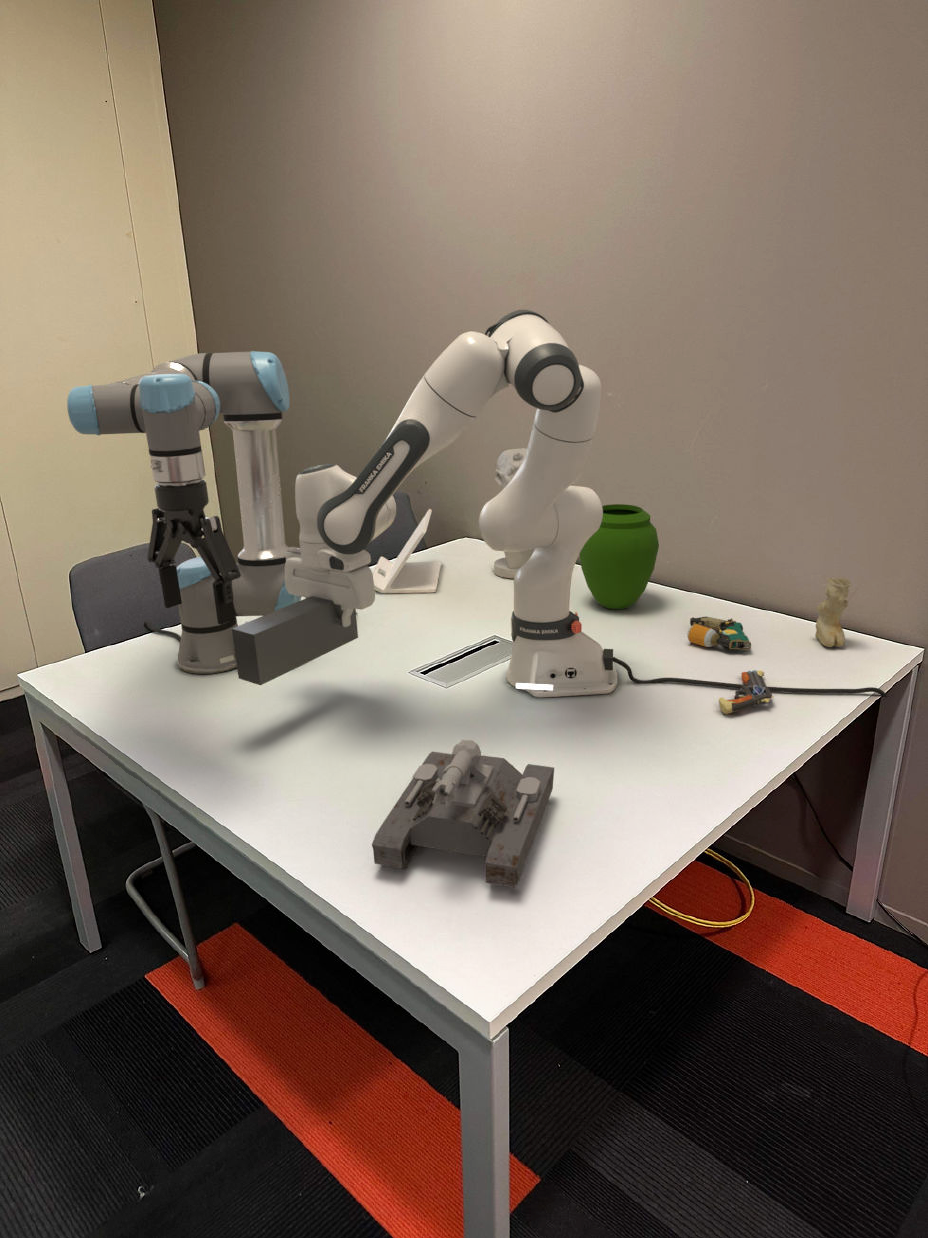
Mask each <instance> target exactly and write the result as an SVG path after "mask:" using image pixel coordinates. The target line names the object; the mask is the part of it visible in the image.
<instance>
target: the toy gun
mask: <svg viewBox="0 0 928 1238" xmlns="http://www.w3.org/2000/svg"><path fill="white" fill-rule="evenodd" d="M740 674H741V680H742V685H741V689H737V690H735V691H734V692H735V694H734V697H733V698H734V699H733V698H732V699H726V698H724V697H719V698H718V704H719V708H720V711H721V712H722V713H723V714H724V715H725V714H732V713H736V712H739V711H742V710H745V709H748V708H751V707H755V706H758V705H760V704H763V703H766V704H768V703H770V699H774V696H773V693H772V691H770V689H769V688H768V687H769V686H767V684H766V682H765V680H764V677H765V676H766V675H765V671H764V670H756V669H753V670H748V671H742V672H741V673H740ZM745 685H748V686H745Z"/></svg>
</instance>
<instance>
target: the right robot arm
mask: <svg viewBox="0 0 928 1238" xmlns="http://www.w3.org/2000/svg"><path fill="white" fill-rule="evenodd" d="M510 385H511V386H512V388H514V389H515V390H516V393H517V395H518V396H519V398H521V399H522V400H523V402H525V403H526V404H528V405H529V406H531V407H533V408H536V411H535V415H534V419H533V422H532V423H533V424H532V428H531V432H530V436H529V440H528V444H527V447H526V449H527V451H526V454H525V457H524V459H523V461H522V463H521V465H520V467H519V469H518V470H517V472H516V474H515V475H514V476H513V478H512V479H511V481H510V482H509V483H508V484H507V486H506V487H505V488H504V489H503V488H502V490H501V491H500V492H498V493H497V494H496V495H495V496H493V498H491V499H490V500H489V501H487V502H485V504H484V505H483V507H482V509H481V511H480V514H479V516H478V517H479V518H478V529H479V532H480V536H481V538H482V540H483V542H484V544H485V545H486V546H488V547H489V548H490V549H491V550H492V551H494V552H504V551H505V552H520V551H525V550H530V549H535V550H534V552H533V554H532V556H531V557H530V559H529V560H528V561H527V562H526V563H525V564H524V565H523V566H522V567H520V569H519V570H518V571H517V572H516V574H515V577H514V578H513V611H512V612H511V618H510V635H511V640H512V645H511V646H512V647H511V655H510V660H509V665H508V669H507V672H506V675H505V678H506V681H507V683H509V684H510V685H511V686H513V687H515V689H519V690H522V691H525V692H527V693H529V694H530V695H531V696H533V697H535V698H556V697H572V696H573V697H574V696H588V695H589V696H590V695H591V696H592V695H607V694H611V693H612V692H613V691H615V690H616V688H617V686H618V673H617V670H616V668H615V667H614V663H615V664H617V665H619V666H621V667H623V668H624V669H625V670H626V673H627V677H628V679H629V680H630V681H631V682H632V683H634V684H636V685H650V684H653V685H654V684H660V683H677V684H678V683H679V684H690V685H699V686H707V687H708V686H709V687H719V688H728V689H737V690H741V685H743V683H742V684H741V683H731V682H730V683H729V682H721V681H712V680H702V679H701V680H700V679H692V678H691V679H689V678H683V677H682V678H681V677H659V678H654V679H653V678H652V679H646V680H643V679H638V678H636V677H634V675H633V671H632V668H631V667H630V665H629V664H627V663H626V662H624V661H623V660H621V659H619V658H618V657H615V656H614V649H613V648H603V647H602V645H601V644H600V643H599V642H598V641H596V640H595V639H593V638H591V637H590V636H589V635H587V634H586V633H585V632H583V631H582V630H583V626H582V625H583V624H582V622H581V621H580V616H579V615H578V612H577V611H575V613H574V612H573V611H571V610H570V600H571V585H572V576H573V572H574V569H575V566H576V563H577V560H578V558H579V557H580V552H581V550H582V548H583V547H584V545H585V544H586V542H587V541H588V540H589V538H590V537H591V536H592V535H593V534H594V533H595V532H596V531H597V530H598V529H599V527H600V525H601V522H602V518H603V508H602V506H603V504H602V501H601V499H600V496H599V495H598V494H597V493H596V492H595V490H594V489H592V488H591V487H587V486H580V485H573V484H575V483H576V482H577V481H578V480H580V478H581V477H582V476H583V475H584V473H585V471H586V468H587V465H588V461H589V457H590V453H591V449H592V446H593V442H594V439H595V434H596V431H597V427H598V422H599V418H600V410H601V403H602V390H603V389H602V382H601V379H600V377H599V376H598V374H596V372H595V371H594V370H592V369H591V368H589V367H587V366H585V365H582V364H579V361H578V359H577V357H576V355H575V353H574V352H573V351H572V350H571V349H570V347H569V345H568V343H567V342H566V340H565V339H564V338H563V336H562V335H561V333H560V332H559V331H557V330H556V329H555V328H554V327H553V326H552V325H551V324H550V322H549V321H548V320H547V319H546V317H544V316H543V315H541V314H539V313H538V312H536V311H533V310H530V309H516V310H514V311H511V312H509V313H507V314H506V315H504V316H503V317H502V318H500V319H499V320H498V321H497V322H496V323H494V324H493V325H490V326H489V327H488V328H487V329H486V330H485V332H484V333H481V332H479V331H465V332H463V333H461V334H459V336H457V337H456V338H455V339H454V340H453V341H452V342H451V343H450V344H449V345H448V346H447V347H446V348H445V349H444V350H443V351H442V352H441V353H440V354H439V356H438V357H437V358H436V359H435V360H434V362H433V363H432V364H431V365H430V366H429V368H428V369H427V370H426V372H425V373H424V375H422V377H421V379H420V380H419V382H418V383H417V385H416V387H415V388H414V390H413V391H412V393H411V395H410V396H409V398H408V400H407V402H406V404H405V405H404V406H403V409H402V410H401V413H400V414H399V416H398V418H397V419H396V420H395V421H396V422H395V423H394V425H393V427H392V428H391V429H390V432H389V433H388V435H387V436H386V439H385V440H384V442H383V443H382V444H381V446H380V447H379V448H378V449H377V451H376V452H375V454H374V455H373V456H372V457H371V459H370V460H369V461H368V462H367V464H366V465H365V466H364V468H363V469H362V470H361V472H360V473H359V475H357V476H354V475H353V474H351V473H349V472H347V471H345V470H343V469H342V468H341V467H340V466H339V465H337V464H336V463H331V462H330V463H321V464H317V465H314V466H310V467H307V468H305V469H303V470H301V471H300V472H299V473H298V474H297V475H296V478H295V484H294V499H295V500H294V501H295V502H294V503H295V513H296V518H297V521H298V523H299V533H298V540H299V547H298V546H297V547H296V546H290V547H289V548H290V549H288V550H287V552H286V554H285V556H286V563H285V588H286V590H287V591H288V593H289V594H292V595H297V596H301V598H304V599H306V598H308V597H311V596H313V597H318V598H322V599H327V600H331V601H333V602H334V604H337V605H341V610H344V612H343V615H342V616H341V617H339V618H338V619H339V625H340V626H343V627H347V626H349V625H350V624H351V619H350V616H351V614H352V612H353V610H354V608H355V609H356V610H360V611H361V610H364V609H367V608H369V607H371V606H372V605H373V604H374V603H375V600H376V590H375V588H374V580H373V572H372V569H371V567H370V566H369V564H370V563H371V561H372V558H371V554H370V553H369V552H368V551H366V550H365V549H366V548H367V546H369V544H370V543H372V542H373V540H375V539H377V538H378V537H379V536H380V535H381V534H382V533H384V532H385V531H386V530H387V529H389V528H390V527H391V525H392V524H393V523H394V522H395V519H396V518H397V514H398V513H397V512H398V505H397V501H396V497H395V496H394V494H395V492H396V491H397V490H398V489H399V487H400V486H401V485H402V484H403V482H404V481H405V480H406V478H407V477H408V476H409V475H410V474H411V473H412V472H413V471H414V470H415V469H416V468H417V467H419V466H420V465H421V464H422V463H424V462H425V461H427V460H428V459H430V458H431V457H433V456H435V455H436V454H437V453H440V452H441V451H443V450H444V449H446V448H447V447H449V446H450V445H451V444H452V443H454V441H456V440H457V439H458V438H459V437H460V436H461V435H462V434H463V433H464V432H466V431H467V429H468V428H469V427H470V426H471V425H472V423H474V421H475V420H476V419H477V417H478V416H479V415H480V413H481V412H482V410H483V409H484V408H485V406H486V405H487V403H488V402H489V400H490V399H492V398H493V396H495V395H496V394H497V393H498V392H500V391H502V390H504V389H506V388H509V387H510ZM744 685H745V686H748V685H746V684H744ZM767 687H768V688H769V689H770V691H771V692H776V693H792V694H793V693H794V694H795V693H796V694H797V693H798V694H863V693H876V694H879V696H881V697H884V698H887V697H888V696H889V695H888V694H887V693H886V692H885V691H884V690H883V689H880V688H878V687H873V686H871V687H870V686H869V687H861V688H807V687H805V688H804V687H801V688H800V687H781V686H767Z"/></svg>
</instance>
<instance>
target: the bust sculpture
mask: <svg viewBox="0 0 928 1238" xmlns="http://www.w3.org/2000/svg"><path fill="white" fill-rule="evenodd" d="M526 451H527V448H525V447H522V448H512V449H506V450H504V451H502V452H501V454H500V455H499V457H498V459H497V461H496V468H495V471H494V480H495V482H496V484H497V486H498V487H501V488H502V490H503V489H504V488H505V487H506V486H507V484H508V483H509V482H510V481H511V479H512V478H513V476H514V475H515V474H516V472H517V470H518V469H519V467H520V465H521V463H522V461H523V459H524V457H525V454H526ZM534 550H535V549H530V550H525V551H520V552H505V551H503V553H504V557H502V558H498V559H496V560H495V561H494V562H493V573H494V574H495V575H496V576H497V577H500V578H506V579H514V577H515V574H516V572H517V571H518V570H519V569H520V567H522V566H523V565H524V564H525V563H526V562H527V561H528V560H529V559H530V557H531V556H532V554H533V552H534Z"/></svg>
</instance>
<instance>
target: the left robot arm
mask: <svg viewBox="0 0 928 1238" xmlns="http://www.w3.org/2000/svg"><path fill="white" fill-rule="evenodd" d="M290 401H291V400H290V390H289V384H288V380H287V377H286V373H285V369H284V367H283V364H282V362H281V360H280V358H279V357H278V356H277V355H276V354H275V353H273V352H270V351H257V350H251V351H231V352H230V351H229V352H203V353H195V354H190V355H186V356H183V357H179V358H176V359H171V360H169V361H166V362H162V363H159V364H158V365H156V366H155V367H153V369H152V370H151V371H150V372H148V373H144V374H140V375H137V376H133V377H129V378H125V379H122V380H119V381H115V382H110V383H107V384H99V385H92V384H88V385H80V386H75V387H73V388H72V389H70V390H69V393H68V395H67V399H66V407H67V408H66V409H67V415H68V419H69V421H70V425H72V428H73V429H74V430H75V431H76V432H77V433H79V434H81V435H95V436H101V435H122V434H123V435H124V434H145V436H146V442H147V447H148V448H147V449H148V454H149V459H150V468H151V472H152V479H153V481H154V482H156V484H155V485H154V494H155V501H156V506H157V508H153V509H152V510H151V519H152V525H151V530H150V536H149V545H148V551H147V552H148V553H147V561H148V562H149V563H154V566H155V567H156V569H157V570H158V575H159V581H160V584H161V590H162V597H163V603H164V608H165V609H170V608H173V607H176V606H177V607H178V615H179V620H180V626H181V635H180V634H178V633H177V632H173V631H170V630H165V629H159V628H155V627H153V626H152V625H151V623H150V621H149V620H145V621H144V623H143V626H146V628H147V629H148V630H149V631H152V632H154V633H158V634H162V635H169V636H172V637H174V638H175V639H177V640H178V641H179V647H178V652H177V664H178V668H179V669H180V670H181V671H183V672H186V673H189V674H194V675H195V674H196V675H211V674H212V675H213V674H219V673H224V672H227V671H231V670H234V669H237V663H236V656H235V649H234V642H233V635H232V628H235V627H237V626H239V624H238V620H237V617H262V616H264V615H267V614H269V613H272V612H274V611H276V610H279V609H281V608H284V607H286V606H289V605H291V604H294V603H296V602H299V601H301V600H302V597H301V596H297V595H292V594H289V593H288V591H287V590H286V588H285V563H286V556H285V554H286V552H287V550H288V549H290V547H289V546H288V545H287V543H286V532H285V523H284V511H283V498H282V488H281V487H282V486H281V475H280V474H281V473H280V462H279V451H278V438H277V428H278V427H279V425H280V424H281V423H282V422H283V413H285V412H287V411H288V410H289V409H290V406H291V405H290V404H291V403H290ZM220 414H222V417H223V423H224V424H225V425H226V426H227V427H229V429H231V431H232V436H233V449H234V458H235V468H236V478H237V489H238V499H239V509H240V517H241V518H240V519H241V529H242V539H243V548H242V549H241V550H240V551H239V553H238V554H237V561H236V560H235V557H234V555H233V553H232V550H231V548H230V546H229V543H228V540H227V539H226V537H225V533H224V532H223V529H222V528H223V527H222V524H221V519H220V517H219V516H218V515H213V516H209V517H207V516H206V514H205V510H204V509H205V507H206V506H207V505H208V504H209V503H210V501H209V493H208V486H207V482H206V481H205V480H204V478H205V476H206V467H205V461H204V455H203V450H202V449H203V448H202V442H201V435H200V432H201V431H204V430H206V429H208V428H209V427H211V425H213V423H214V422H215V421H216V420H217V419H218V417H219V415H220ZM182 542H184V543H185V544H189V545H190V546H191V548H193V549H195V550H196V551H197V553H198V555H199V556H197V557H193V558H190V559H188V560H185V561H183V562H181V563H180V564H178V565H175V564H176V561H175V558H176V555H177V553H178V550H179V548H180V546H181V543H182Z"/></svg>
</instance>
